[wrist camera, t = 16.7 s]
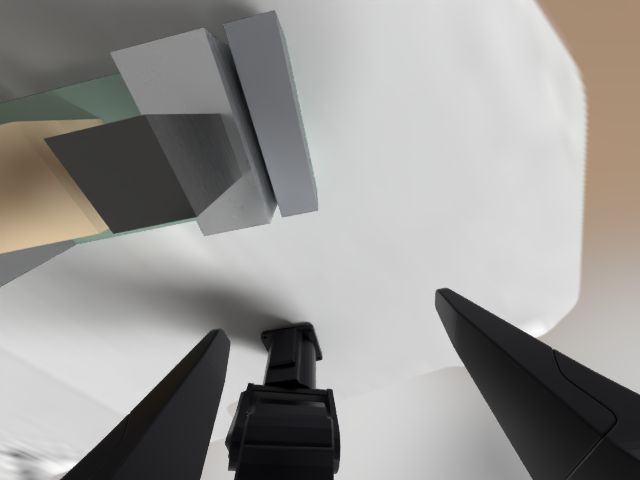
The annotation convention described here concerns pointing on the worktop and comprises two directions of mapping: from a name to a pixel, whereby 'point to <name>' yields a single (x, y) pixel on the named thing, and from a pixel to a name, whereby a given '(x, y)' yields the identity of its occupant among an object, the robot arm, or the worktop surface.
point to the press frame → (118, 104)
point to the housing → (41, 188)
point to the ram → (174, 143)
